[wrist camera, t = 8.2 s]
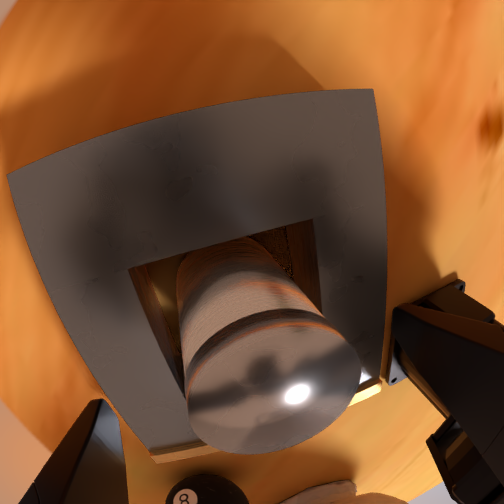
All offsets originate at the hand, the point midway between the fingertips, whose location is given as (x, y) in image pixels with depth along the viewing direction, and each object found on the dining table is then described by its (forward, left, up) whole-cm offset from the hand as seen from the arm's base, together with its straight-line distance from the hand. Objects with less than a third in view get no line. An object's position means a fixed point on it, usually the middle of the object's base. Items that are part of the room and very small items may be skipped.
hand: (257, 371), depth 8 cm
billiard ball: (-16, +6, -6) cm, 18 cm away
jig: (0, 0, -6) cm, 6 cm away
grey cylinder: (0, 0, -6) cm, 6 cm away
